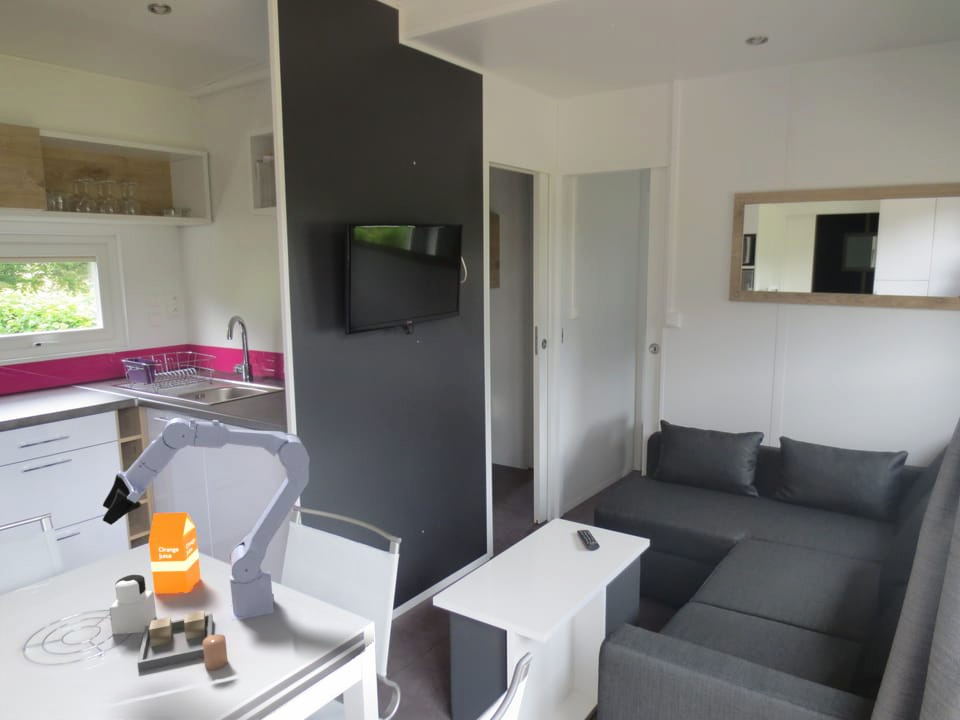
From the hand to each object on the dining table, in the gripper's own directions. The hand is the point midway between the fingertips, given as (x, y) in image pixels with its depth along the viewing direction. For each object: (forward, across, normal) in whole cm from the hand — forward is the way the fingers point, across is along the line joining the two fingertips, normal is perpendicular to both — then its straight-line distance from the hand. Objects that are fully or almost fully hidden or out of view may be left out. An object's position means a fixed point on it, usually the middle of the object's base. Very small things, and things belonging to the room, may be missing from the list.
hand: (106, 514), depth 148 cm
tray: (+13, +13, +27) cm, 33 cm away
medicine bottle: (+20, -1, +22) cm, 30 cm away
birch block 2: (+10, +10, +30) cm, 33 cm away
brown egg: (+8, +25, +31) cm, 41 cm away
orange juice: (+14, -18, +31) cm, 38 cm away
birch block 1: (+15, +9, +25) cm, 30 cm away
